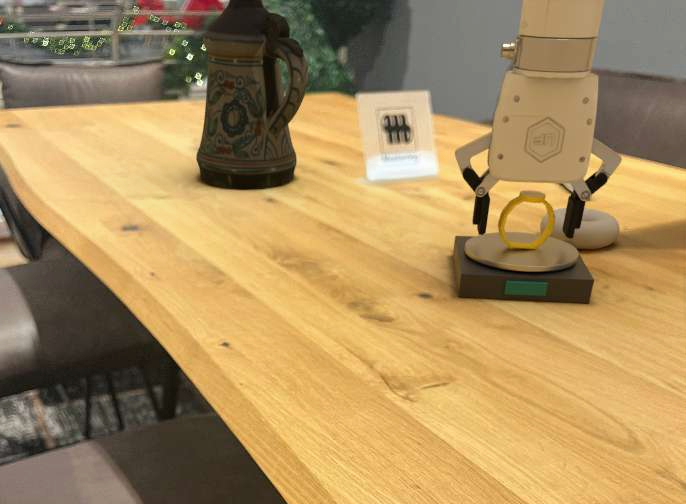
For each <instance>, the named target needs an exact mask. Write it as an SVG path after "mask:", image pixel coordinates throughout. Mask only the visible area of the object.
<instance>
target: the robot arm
mask: <svg viewBox="0 0 686 504" xmlns="http://www.w3.org/2000/svg"><path fill="white" fill-rule="evenodd" d="M605 1H606V0H522V6H521V13H520V19H519V27H518V34H517V35H516V38H514V40H513V41H510V42H502V43H501V49H500V59H507V60H508V61H511V63H512V66H513V68H512V69H511V70H508V71H506V73H505V75H504V79H503V81H502V85H501V88H500V91H499V96H498V99H497V100H498V101H497V104H496V107H495V112H494V117H493V123H492V127H491V131H490V132H488V133H486V134H484V135H482V136H479V137H477V138H475V139H474V140H472V141H470V142H467V143H465V144H464V145H461V146H460V147H458V148H456V149H455V151H454V157H455V161H456V163H457V165H458V168H459V171H460V174H461V176H462V178H463V180H464V181H465V183H466V184H467V185H468V186H469V188H471V190H472V191H473V192H474V194H475V196H474V205H473V212H472V222H471V224H472V225H473V226H474V225H475V226H476V229H477V234H478V235H484V234H487V226H488V218H489V211H490V204H491V197H490V190H492V189H493V187H495V185H497V184H498V182H499V181H501V182H511V183H532V184H534V183H536V184H537V183H538V184H562V183H570V184H571V185H572V187H573V189H574V190H573V192H572V193H570V195H569V196H568V199H567V203H566V207H565V208H566V213H565V218H564V223H563V229H562V230H563V232H564V234H565V236H566V237H567V238H572V239H573V237H574V232H575V229H580V226H581V222H582V217H583V212H584V208H586V204H587V203H586V202H587V201H589V200H590V199H591V198H592V197H591V195H592V196H593V195H594V194H595V193H596V192H597V191H599V190H600V189H602V187H604V186H605V185H606V184H607V183H608V180H609V178H610V177H611V176H612V175H613V174H614V172H615V171H616V170H617V169H618V167H619V166H620V164H622V160H623V159H622V156H621V155H619V153H617V152H616V151H614V150H613V149H612V148H610V147H609V146H607V145H606V144H604V143H603V142H601V141H600V140H598V139H596V138H595V137H594V134H595V129H596V120H597V119H596V118H597V109H598V102H599V101H598V99H599V75H597V74H595V73H592V68H593V61H594V57H595V51H596V45H597V42H598V36H599V31H600V25H601V21H602V16H603V12H604V11H603V10H604V7H605ZM486 150H488V151H487V166H488V168H487V169H486V170H485V171H484V172H483V173H482V174H481V175H480V176H479V174H478V173H477V172H476V171H475V170H474V168H473V166H472V163H471V159H472V158H473V157H475V156H477V155H478V154H481V153H483V152H485V151H486ZM592 155H594V156H595V157H596V158H598V159H600V160H601V161H602V162H601V164H600V166H599V168H598V169H597V170H596V171H595V172H594V173H592V175H590V176H589V177H588V178H586V179H584V178H585V177H586V175H587V173H588V169H589V165H590V159H591V156H592Z"/></svg>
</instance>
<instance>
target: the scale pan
mask: <svg viewBox="0 0 686 504" xmlns="http://www.w3.org/2000/svg"><path fill="white" fill-rule="evenodd" d="M541 235H542V234H537V233H529V232H516V231H505V236H506V239H507V240H508V241H509V242H515V243H528V244H530V243H532V242H533V241H535V240H536V239H538V238H539V237H540V236H541ZM578 250H579V249H576V248H575V247H574V246H572V245H570V244H568V243H566V242H564V241H561V240H559V239H555V238H552V237H549V238H548V239H547V241H546V242H544V244H542V245H541V246H539V247H538V248H536V249H535V250H534V249H522V248H519V249H518V248H509V247H508V246H507V244H506V243H505V242H504V241H503V240H502V238H501V237H500V235H499V231H497V232H488V233H487V232H486V233H485V234H484V235H479V234H478V235H475V237H472V238H470V239H469V240H468V241H467V242H466V243H465V253H466V254H467V255H468V256H469V257H470V258H472V259H473V260H475V261H477V262H480V263H482V264H485V265H488V266H492V267H496V268H501V269H506V270H514V271H525V272H545V271H555V270H560V269H564V268H568V267H570V266H572V265H574V264H575V263H576V262H577V260H578V255H579V254H580V252H579V251H578ZM578 252H579V253H578Z"/></svg>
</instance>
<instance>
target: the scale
mask: <svg viewBox="0 0 686 504" xmlns="http://www.w3.org/2000/svg"><path fill="white" fill-rule="evenodd" d="M475 236H476V235H475ZM475 236H474V235H473V236H472V235H455V236H454V242H453V251H452V260H453V268H454V276H455V282H456V289H457V296H458V298H470V299H471V298H472V299H492V300H493V299H494V300H515V301H532V302H533V301H535V302H553V303H573V304H574V303H575V304H590V300H591V297H592V292H593V288H594V283H595V279H594V277H593V275H592V273H591V271H590V270H589V268H588V267H587V265H586V263H585V261H584V259H583V258H582V256H581V254H580V252H579V251H578V253H579V255H578V260H577V262H576V263H575V264H574V265H572V266H570V267H568V268H564V269H560V270H555V271H545V272H525V271H514V270H506V269H501V268H496V267H492V266H488V265H485V264H482V263H480V262H477V261H475V260H473V259H472V258H470V257H469V256H468V255H467V254H466V253H465V243H466V242H467V241H468V240H469V239H470V238H472V237H475ZM561 241H564V242H566V243H568V244H570V245H572V246H574V247H575V245H574V244H573V242H572V241H570V240H561ZM575 248H576V247H575Z"/></svg>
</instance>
